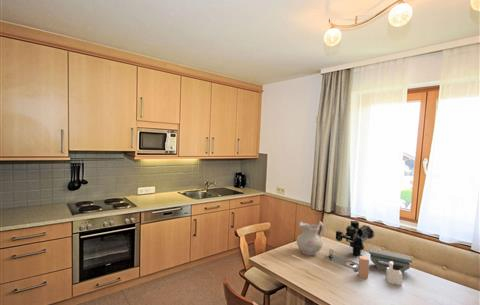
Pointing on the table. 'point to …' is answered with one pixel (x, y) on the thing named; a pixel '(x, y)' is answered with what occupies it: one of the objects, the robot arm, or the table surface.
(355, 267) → the drilled plate
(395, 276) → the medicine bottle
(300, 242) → the ceramic pitcher
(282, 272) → the table surface
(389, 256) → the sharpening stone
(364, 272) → the post
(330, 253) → the steel pin
